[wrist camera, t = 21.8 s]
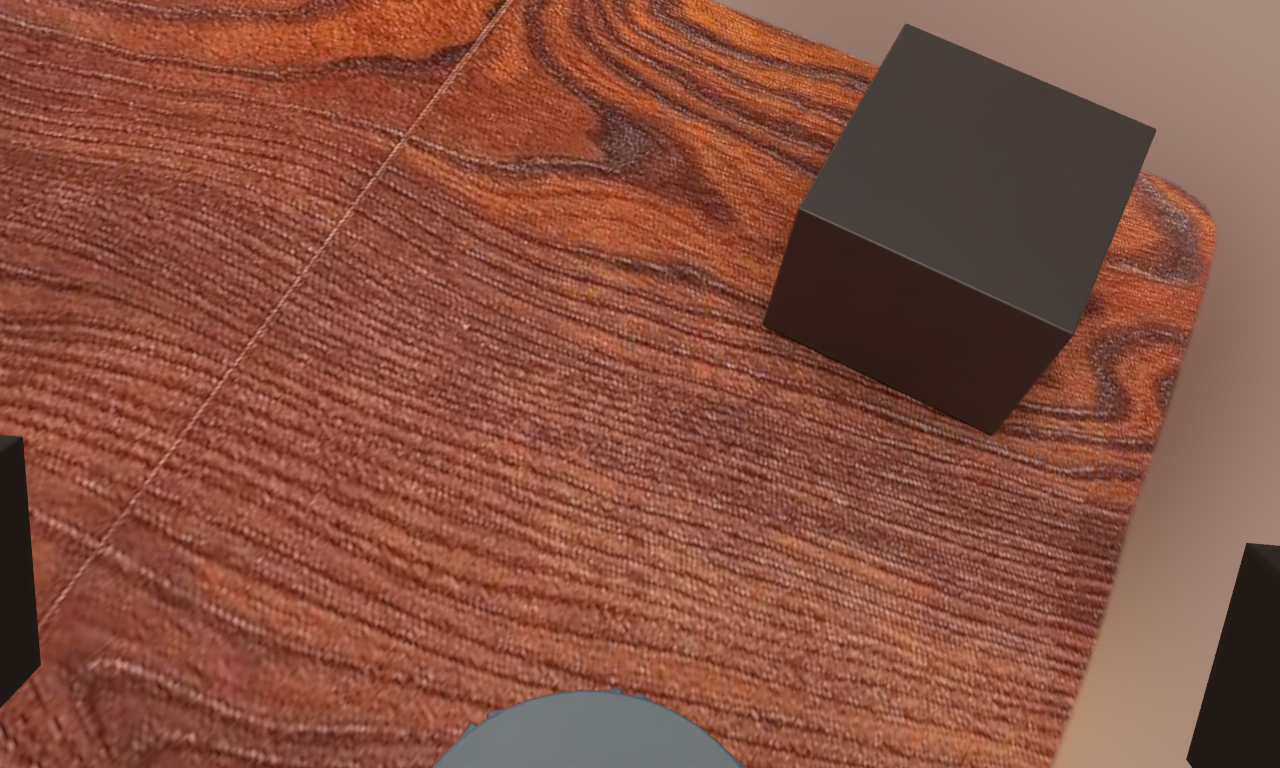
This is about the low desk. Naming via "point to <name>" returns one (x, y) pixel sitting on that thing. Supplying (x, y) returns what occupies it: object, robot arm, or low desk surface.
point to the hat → (586, 736)
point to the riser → (956, 228)
